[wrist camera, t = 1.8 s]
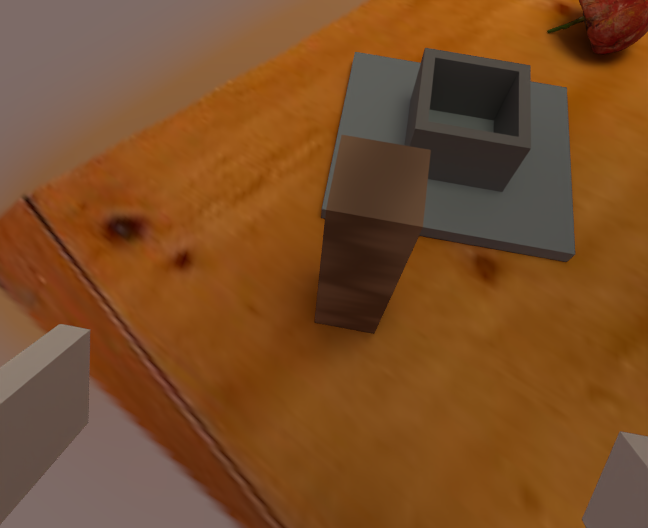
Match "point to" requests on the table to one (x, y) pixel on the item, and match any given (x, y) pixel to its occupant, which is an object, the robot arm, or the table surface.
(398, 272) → the walnut rail post
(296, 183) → the table surface
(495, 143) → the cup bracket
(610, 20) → the pomegranate
